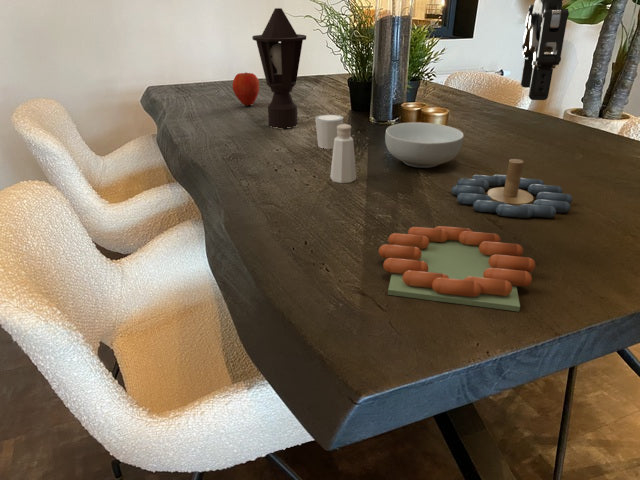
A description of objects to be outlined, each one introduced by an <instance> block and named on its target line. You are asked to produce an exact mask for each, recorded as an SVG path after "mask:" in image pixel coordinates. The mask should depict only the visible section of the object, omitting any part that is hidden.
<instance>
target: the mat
mask: <svg viewBox="0 0 640 480" xmlns="http://www.w3.org/2000/svg"><path fill="white" fill-rule="evenodd" d="M420 250H421V253H422V255H421V258H420V259H419V260H418V261H424V262H426V263H427V265H428V272H432V273H442V274H446V275H447V276H448V277H449V278H451V279H460V280H464V279H465V278H466V277H469V276H472V277H481V278H483V273H484V271H485V270H486V269H487V268H491V267H490V265H489V262H488V261H489V258H490V257H491V256H489V255H483V254H482V253H480V251H479V246H476V245H465V244H462V243H461V242H460V241H455V240H446V241H445V242H432V241H429V246H428V247H427V248H425V249H420ZM517 287H518V286H514V285H512V291H511V293H510V294H509V295H507V296H500V295H491V294H481V293H480V294H479V295H478V296H476V297H468V296H459V295H450V294H441V293H437V292H435V291H434V290H433V288H426V287H416V286H408V285H406V284H405V283H404V282H403V274H399V273H391V275H390V280H389V284H388V289H387V295H388V296H396V297H403V298H409V299H410V298H411V299H418V300H424V301H425V300H427V301H432V302H433V301H434V302H440V303H441V302H442V303H448V304H457V305H465V306H472V307H480V308H485V309H486V308H487V309H495V310H502V311H512V312H518V313H519V312H520V310H521V303H520V297H519V293H518V288H517Z"/></svg>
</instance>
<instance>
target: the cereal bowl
mask: <svg viewBox="0 0 640 480" xmlns="http://www.w3.org/2000/svg"><path fill="white" fill-rule="evenodd" d="M464 137H465V135H464V133H463V131H462V130H460V129H458V128H455V127H453V126H448V125H444V124H441V123H440V124H439V123H432V122H416V121H415V122H413V121H412V122H401V123H395V124H391V125H390V126H388V127H387V128H386V130H385V134H384V140H385V146H386V149H387V151H388V152H389V154H390V155H391V156H392V157H393V158H395V159H397V160H399V161H401V162H402V163H403V164H405V165H407V166H409V167H413V168H419V169H431V168H435V167H437V166H439V165H441V164H442V165H443V164H446V163H447V162H448V163H449V162H450V161H453V160H454V159H455V158H456V157H457V156H458V154H459V153H460V152H461V150H462V147H463V143H464Z"/></svg>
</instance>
